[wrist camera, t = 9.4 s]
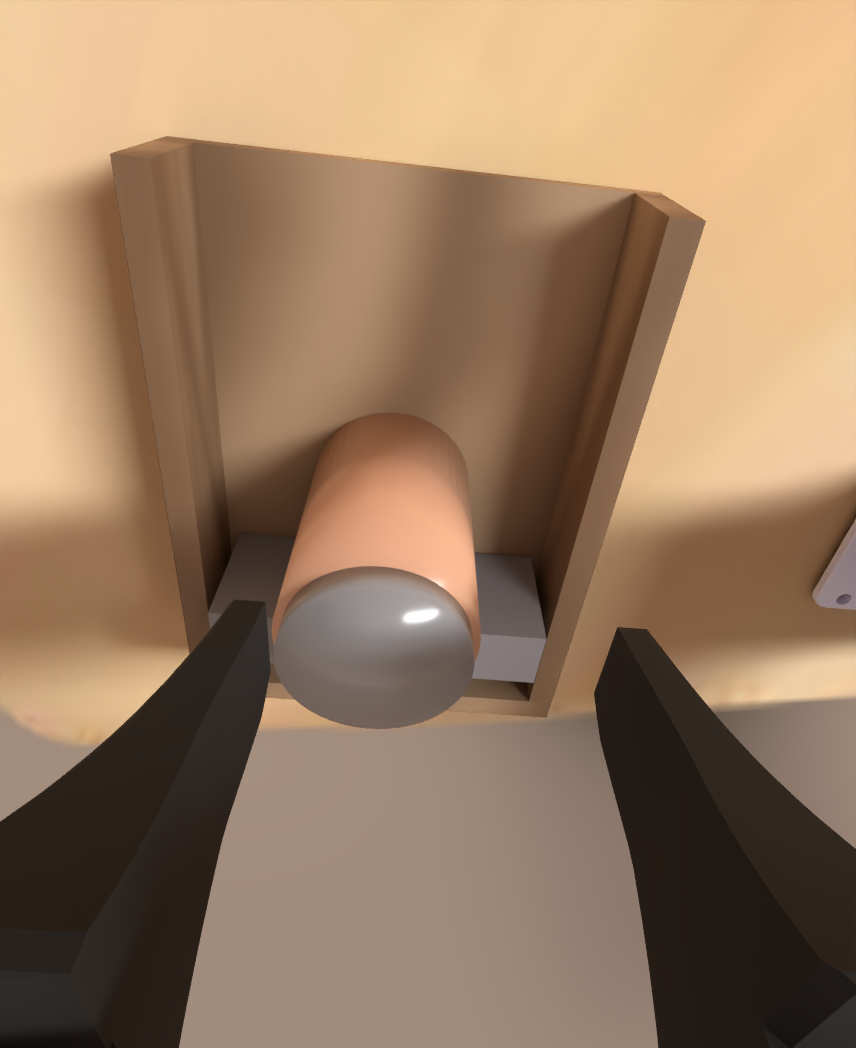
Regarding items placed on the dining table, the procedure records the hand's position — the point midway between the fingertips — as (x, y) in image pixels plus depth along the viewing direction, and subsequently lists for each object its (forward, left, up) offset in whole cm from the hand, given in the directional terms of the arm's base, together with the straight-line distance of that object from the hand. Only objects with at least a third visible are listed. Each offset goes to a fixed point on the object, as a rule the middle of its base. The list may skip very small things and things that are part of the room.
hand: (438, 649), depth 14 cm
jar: (+1, +2, -9) cm, 9 cm away
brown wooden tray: (+1, 0, -9) cm, 9 cm away
